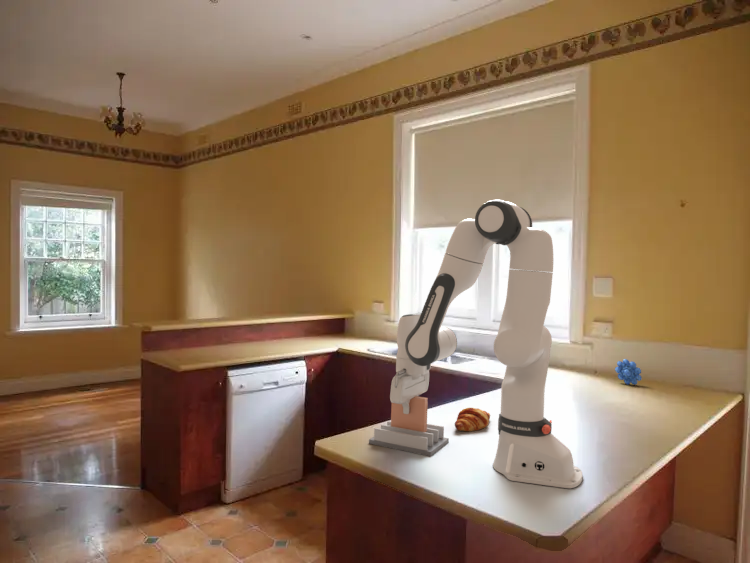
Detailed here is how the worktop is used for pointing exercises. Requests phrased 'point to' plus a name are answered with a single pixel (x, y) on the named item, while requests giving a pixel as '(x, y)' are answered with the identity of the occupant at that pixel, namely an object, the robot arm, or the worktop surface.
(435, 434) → the dish rack
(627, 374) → the blue knobbly flower
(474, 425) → the croissant
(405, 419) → the plate tile
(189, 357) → the worktop surface
